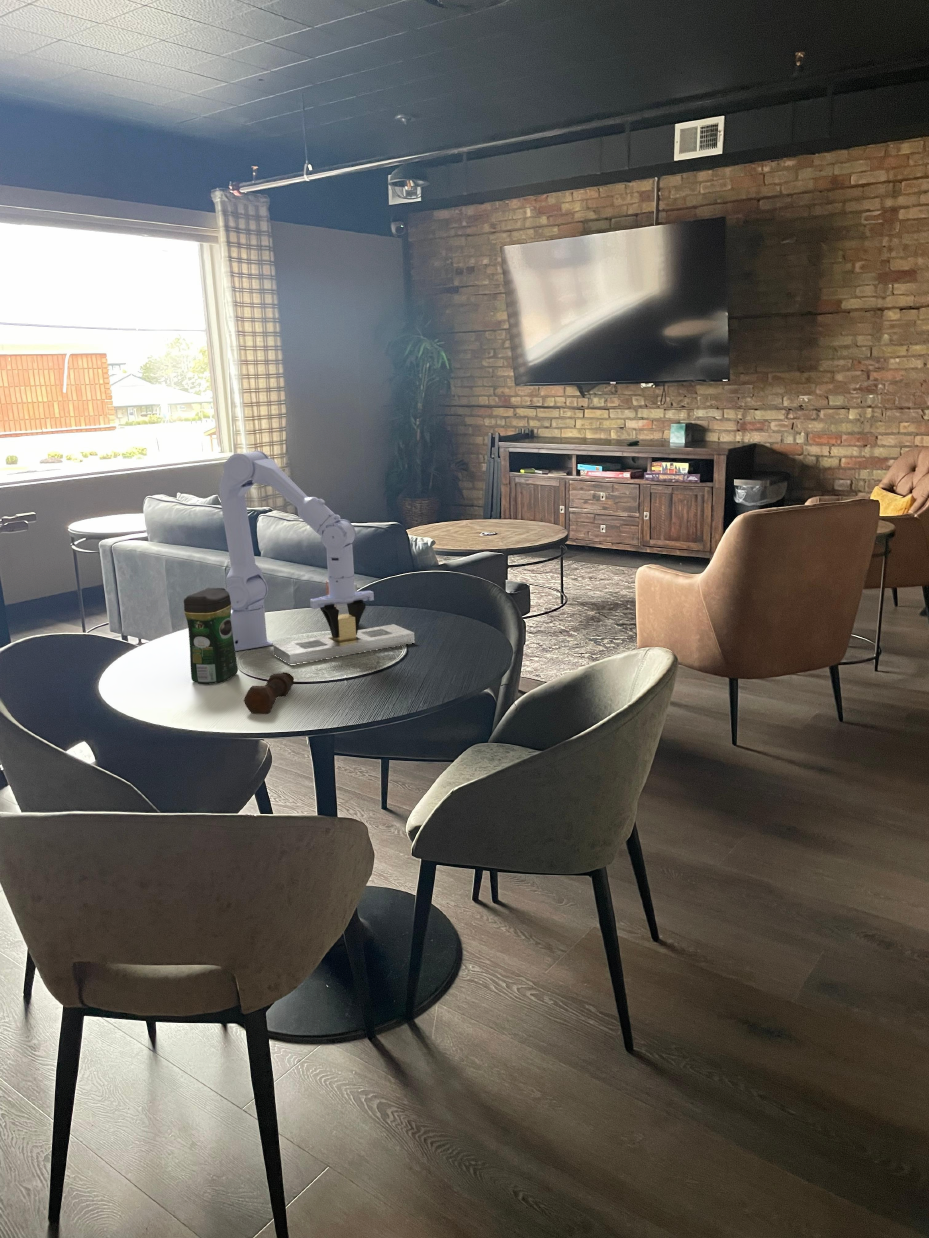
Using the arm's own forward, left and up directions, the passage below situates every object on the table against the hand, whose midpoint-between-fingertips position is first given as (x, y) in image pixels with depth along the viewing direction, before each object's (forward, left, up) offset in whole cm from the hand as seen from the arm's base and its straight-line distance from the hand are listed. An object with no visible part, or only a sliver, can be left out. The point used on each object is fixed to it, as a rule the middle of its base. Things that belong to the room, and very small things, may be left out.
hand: (344, 635), depth 205 cm
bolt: (-26, -25, -4) cm, 36 cm away
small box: (+10, +23, -3) cm, 25 cm away
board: (0, 0, -3) cm, 3 cm away
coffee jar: (-31, -4, -3) cm, 31 cm away
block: (0, 0, -2) cm, 2 cm away
